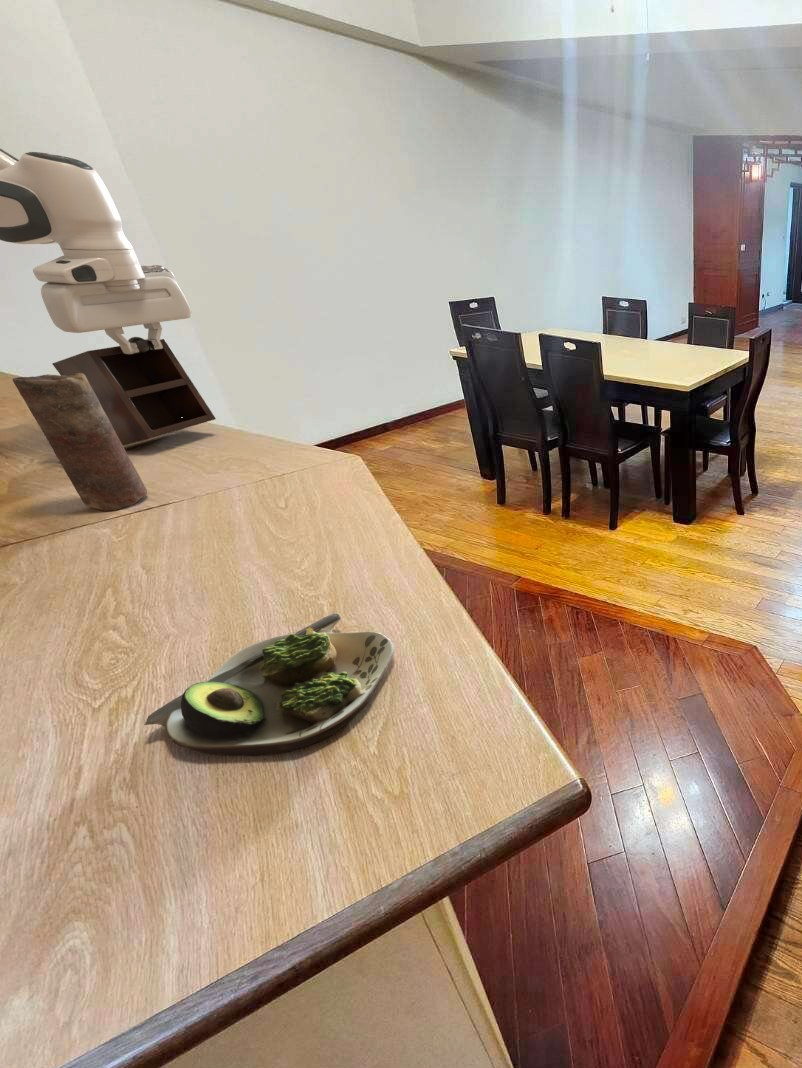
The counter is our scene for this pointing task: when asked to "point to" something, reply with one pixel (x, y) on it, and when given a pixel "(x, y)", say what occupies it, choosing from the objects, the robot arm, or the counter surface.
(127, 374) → the shelf
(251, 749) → the salad plate
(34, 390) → the brown textured cylinder
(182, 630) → the counter surface
